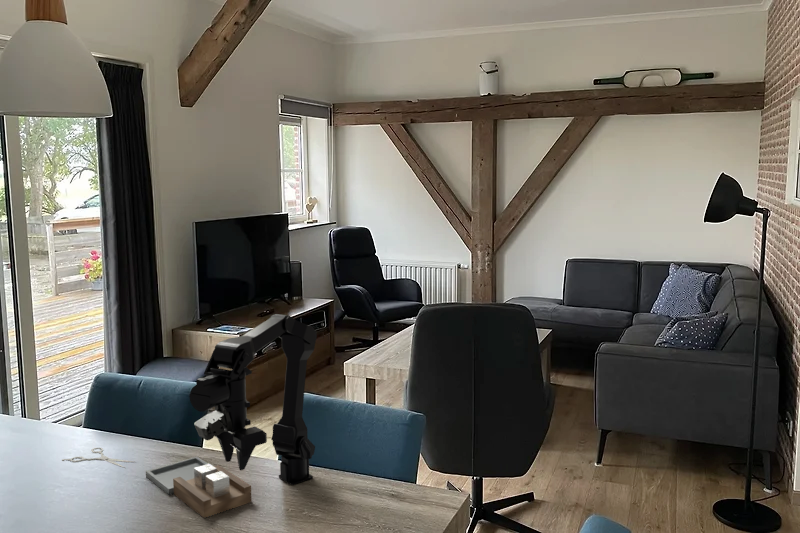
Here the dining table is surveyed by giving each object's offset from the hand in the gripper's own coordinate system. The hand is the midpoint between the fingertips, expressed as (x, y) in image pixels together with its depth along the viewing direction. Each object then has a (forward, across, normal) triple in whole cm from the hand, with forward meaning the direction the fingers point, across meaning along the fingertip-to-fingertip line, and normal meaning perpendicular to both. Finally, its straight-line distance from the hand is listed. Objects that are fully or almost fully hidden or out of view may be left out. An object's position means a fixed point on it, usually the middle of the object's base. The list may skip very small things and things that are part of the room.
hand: (235, 465), depth 157 cm
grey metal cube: (+10, -15, 0) cm, 18 cm away
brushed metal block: (+10, -9, 0) cm, 13 cm away
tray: (+12, -28, 0) cm, 30 cm away
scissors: (+13, -53, -11) cm, 56 cm away
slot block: (+12, -12, 0) cm, 17 cm away
